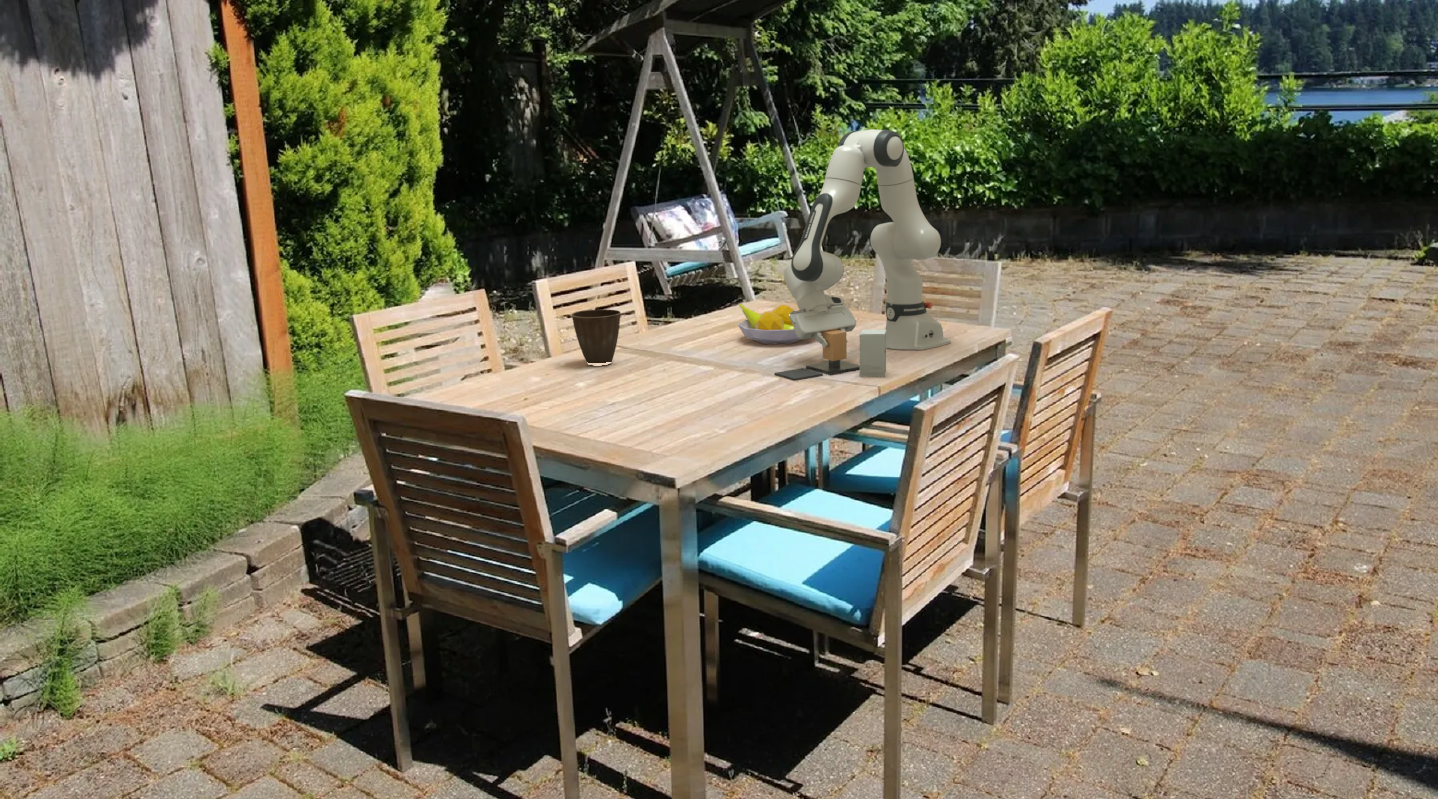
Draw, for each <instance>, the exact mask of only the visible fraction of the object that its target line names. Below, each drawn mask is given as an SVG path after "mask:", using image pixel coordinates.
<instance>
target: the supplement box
mask: <svg viewBox="0 0 1438 799" xmlns="http://www.w3.org/2000/svg"><path fill="white" fill-rule="evenodd" d="M859 365H860V370H859V378H885V376H886V372H887V348H886V330H885V329H861V330H860V333H859Z"/></svg>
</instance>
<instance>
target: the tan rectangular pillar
mask: <svg viewBox="0 0 1438 799" xmlns="http://www.w3.org/2000/svg"><path fill="white" fill-rule="evenodd" d="M822 337H823V338H824V339H825V340H828V341H829V343H830V345H829V347H827V348H823V347H822V359H823V360H827V361H829V360H831V361H837V360H841V361H844V360H847V359H848V357H847V356H848V355H847V351H848V350H847V343H848V339H847V332H844V331H840V330H831V331H825V332H822ZM846 339H847V340H846Z"/></svg>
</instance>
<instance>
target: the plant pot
mask: <svg viewBox="0 0 1438 799" xmlns="http://www.w3.org/2000/svg"><path fill="white" fill-rule="evenodd" d="M571 317H572V323H573V327H574V332H575V334H576V338H577V341H578V345H579V347H580V350H581V353H582V355H583V357H584V360H585V362H586V363H587V362H588V363H606V362H613V359H614V357H615V356H614V355H615V352H616V348H617V344H618V337H619V334H620V333H619V331H620V323H621V322H620V321H621V311H619V310H617V309H589V310H588V309H587V310H581V311H577V312H573V313H572V314H571Z"/></svg>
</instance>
